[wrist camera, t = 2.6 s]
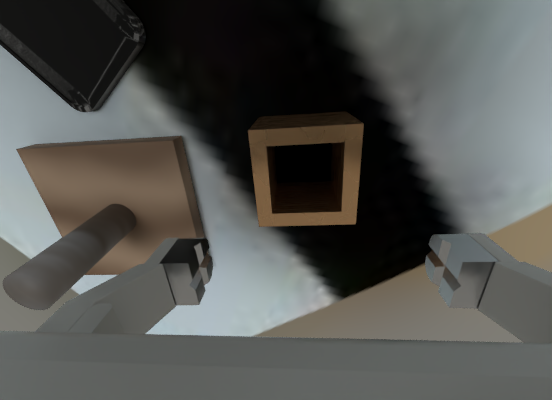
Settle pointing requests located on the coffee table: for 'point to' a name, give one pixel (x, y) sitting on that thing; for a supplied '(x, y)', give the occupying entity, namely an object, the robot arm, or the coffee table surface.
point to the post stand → (104, 210)
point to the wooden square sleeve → (307, 195)
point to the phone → (73, 44)
